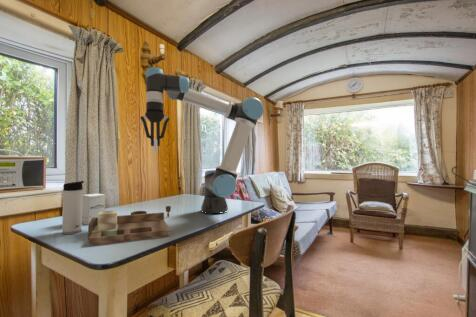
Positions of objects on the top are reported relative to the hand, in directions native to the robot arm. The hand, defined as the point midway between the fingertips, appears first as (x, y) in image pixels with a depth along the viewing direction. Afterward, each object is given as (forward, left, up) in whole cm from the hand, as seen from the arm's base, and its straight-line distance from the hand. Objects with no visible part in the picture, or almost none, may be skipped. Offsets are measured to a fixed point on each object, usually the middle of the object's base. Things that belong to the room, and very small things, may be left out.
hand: (155, 153), depth 110 cm
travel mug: (+31, +5, -32) cm, 45 cm away
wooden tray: (+10, +16, -32) cm, 37 cm away
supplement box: (+26, -9, -32) cm, 42 cm away
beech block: (+18, +12, -29) cm, 37 cm away
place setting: (+3, -2, -33) cm, 33 cm away
